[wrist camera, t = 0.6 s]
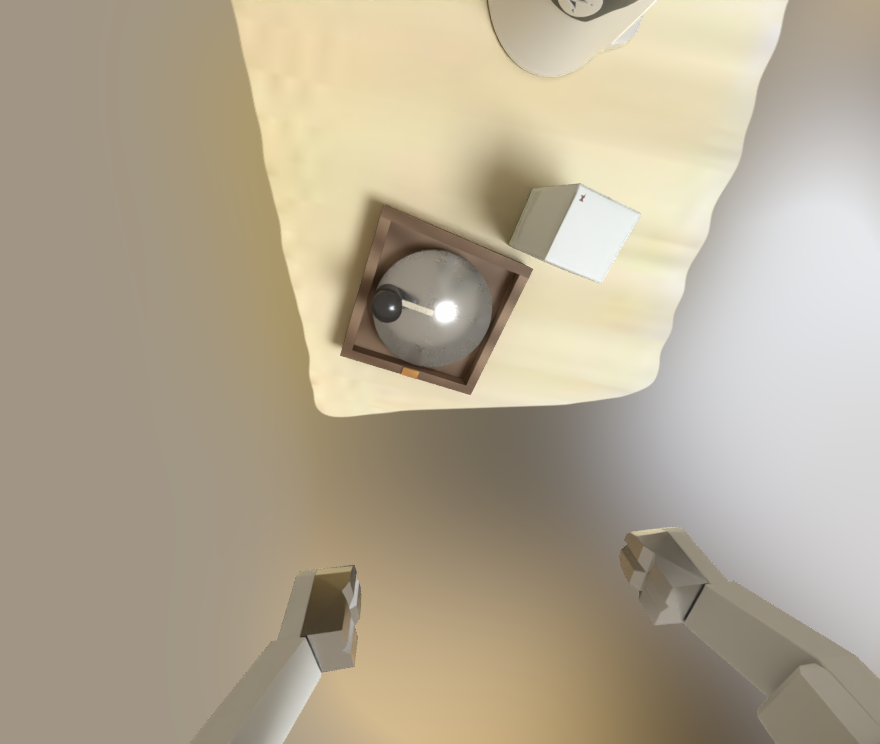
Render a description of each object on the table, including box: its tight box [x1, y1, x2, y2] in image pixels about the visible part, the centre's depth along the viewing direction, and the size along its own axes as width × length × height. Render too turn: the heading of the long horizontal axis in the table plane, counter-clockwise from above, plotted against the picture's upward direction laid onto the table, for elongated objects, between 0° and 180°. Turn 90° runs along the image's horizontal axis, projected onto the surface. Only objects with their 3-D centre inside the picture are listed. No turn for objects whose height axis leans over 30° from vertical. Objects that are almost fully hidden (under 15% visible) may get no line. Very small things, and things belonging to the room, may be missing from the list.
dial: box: [372, 249, 492, 367], centre depth 42 cm, size 16×16×7 cm
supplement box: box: [509, 183, 641, 283], centre depth 37 cm, size 7×7×13 cm
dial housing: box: [340, 205, 533, 395], centre depth 45 cm, size 20×20×3 cm
